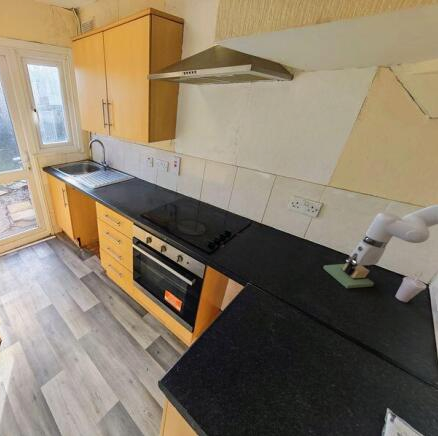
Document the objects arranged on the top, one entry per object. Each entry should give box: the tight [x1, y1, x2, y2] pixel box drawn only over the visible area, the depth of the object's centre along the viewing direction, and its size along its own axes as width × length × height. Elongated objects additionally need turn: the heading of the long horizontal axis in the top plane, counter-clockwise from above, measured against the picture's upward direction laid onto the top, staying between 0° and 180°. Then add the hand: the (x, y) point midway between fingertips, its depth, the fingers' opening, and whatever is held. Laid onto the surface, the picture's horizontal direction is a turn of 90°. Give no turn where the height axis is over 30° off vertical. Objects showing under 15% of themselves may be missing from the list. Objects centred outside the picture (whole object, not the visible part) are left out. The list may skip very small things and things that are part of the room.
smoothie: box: [394, 272, 427, 303], centre depth 91 cm, size 6×6×14 cm
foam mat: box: [322, 263, 375, 289], centre depth 105 cm, size 13×13×2 cm
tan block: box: [342, 262, 370, 279], centre depth 104 cm, size 6×6×4 cm
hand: (354, 272), depth 104 cm, fingers closed on tan block, 5 cm apart
